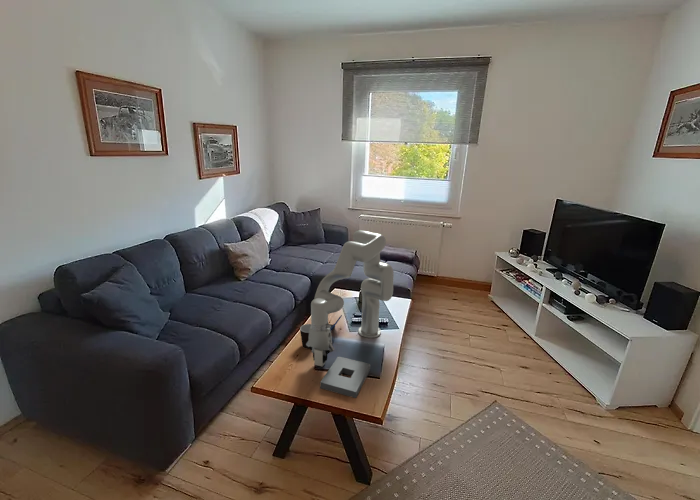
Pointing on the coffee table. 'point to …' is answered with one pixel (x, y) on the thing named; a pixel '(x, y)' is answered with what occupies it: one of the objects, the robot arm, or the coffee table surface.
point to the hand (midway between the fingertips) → (320, 359)
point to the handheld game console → (334, 325)
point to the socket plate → (345, 384)
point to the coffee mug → (305, 334)
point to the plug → (318, 357)
